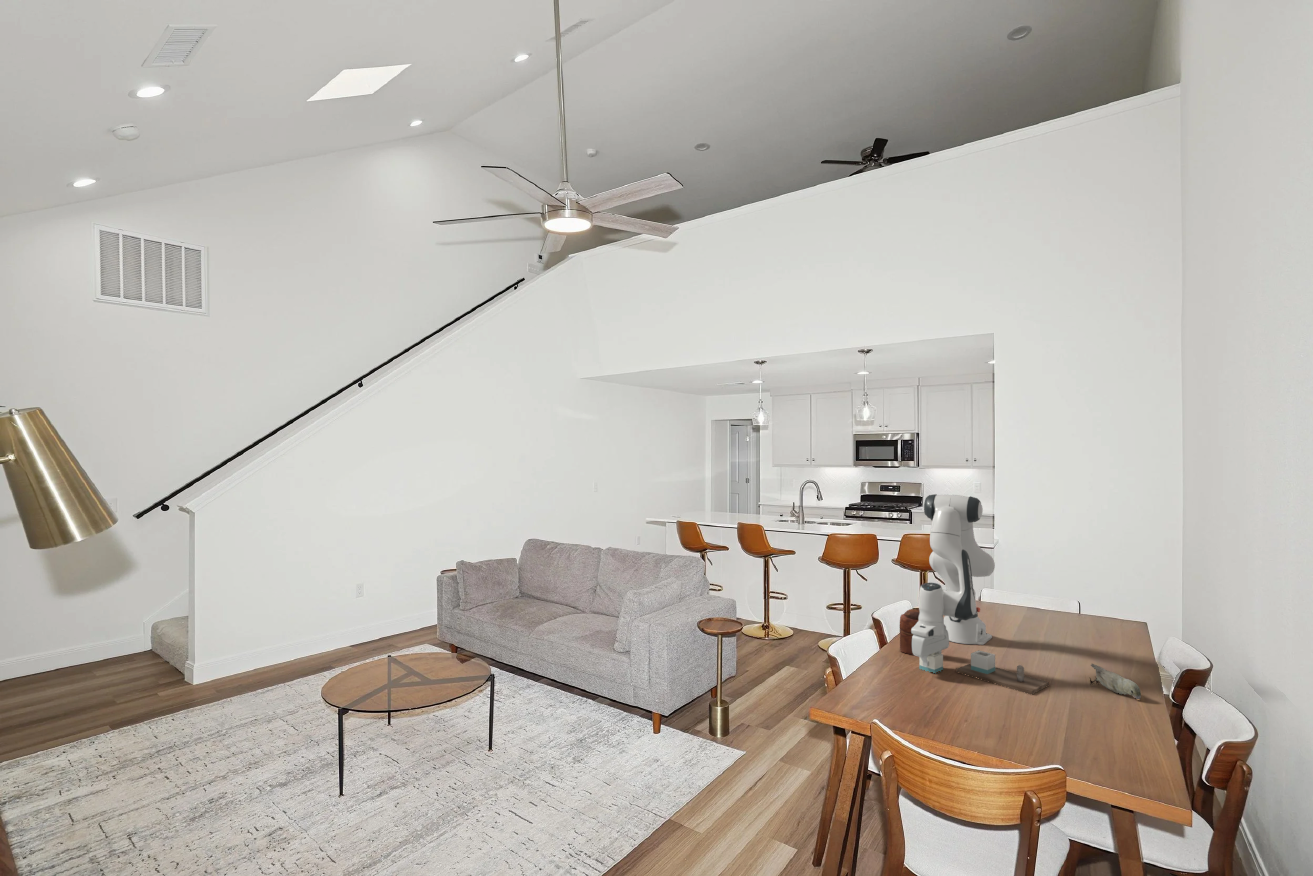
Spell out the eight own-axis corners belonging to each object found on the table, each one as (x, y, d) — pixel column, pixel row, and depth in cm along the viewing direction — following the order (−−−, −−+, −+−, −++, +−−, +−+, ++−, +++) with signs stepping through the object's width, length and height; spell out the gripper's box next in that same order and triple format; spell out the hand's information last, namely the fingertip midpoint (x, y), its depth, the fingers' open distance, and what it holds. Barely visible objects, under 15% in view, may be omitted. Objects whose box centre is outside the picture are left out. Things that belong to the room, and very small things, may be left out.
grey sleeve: (978, 666, 235) (978, 650, 235) (995, 670, 230) (995, 654, 230) (971, 669, 231) (970, 653, 231) (987, 674, 226) (987, 657, 226)
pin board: (974, 664, 240) (974, 647, 240) (1049, 685, 219) (1048, 666, 219) (956, 672, 232) (956, 654, 232) (1031, 694, 211) (1031, 675, 211)
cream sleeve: (927, 665, 238) (927, 650, 238) (943, 670, 234) (943, 654, 234) (919, 669, 235) (919, 653, 235) (934, 673, 230) (934, 657, 230)
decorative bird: (1133, 703, 205) (1133, 680, 205) (1086, 685, 220) (1086, 664, 220) (1145, 701, 206) (1145, 678, 206) (1097, 683, 222) (1097, 662, 222)
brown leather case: (931, 654, 251) (931, 610, 251) (926, 658, 246) (926, 613, 247) (902, 648, 259) (902, 605, 259) (896, 652, 254) (896, 608, 254)
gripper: (937, 620, 243) (937, 656, 243) (908, 629, 231) (908, 667, 231) (953, 624, 238) (953, 660, 238) (924, 634, 226) (924, 672, 226)
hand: (931, 664), depth 234 cm, fingers closed on cream sleeve, 6 cm apart
